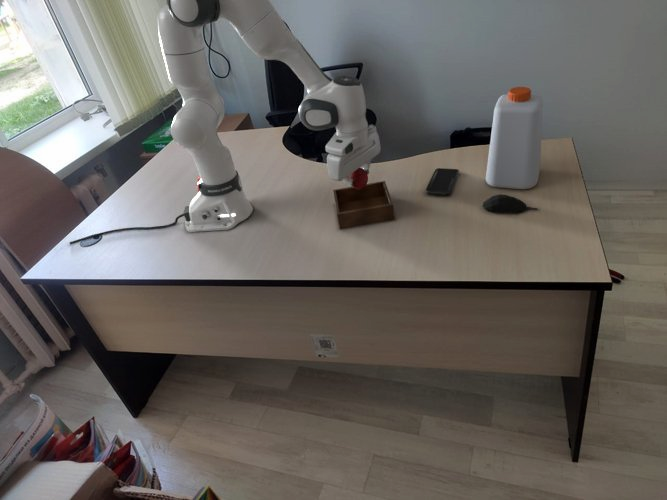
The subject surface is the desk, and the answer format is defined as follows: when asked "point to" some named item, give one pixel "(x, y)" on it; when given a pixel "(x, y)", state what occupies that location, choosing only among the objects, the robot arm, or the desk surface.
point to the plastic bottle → (515, 140)
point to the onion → (359, 178)
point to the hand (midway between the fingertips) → (358, 179)
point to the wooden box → (363, 205)
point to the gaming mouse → (505, 204)
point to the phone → (442, 182)
